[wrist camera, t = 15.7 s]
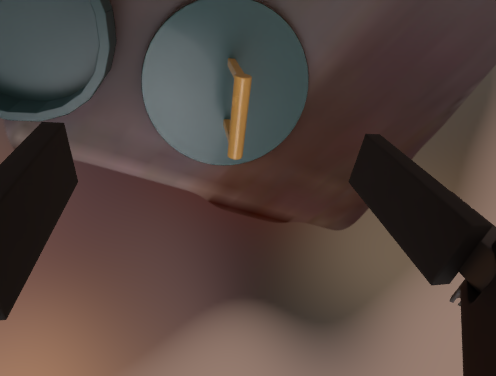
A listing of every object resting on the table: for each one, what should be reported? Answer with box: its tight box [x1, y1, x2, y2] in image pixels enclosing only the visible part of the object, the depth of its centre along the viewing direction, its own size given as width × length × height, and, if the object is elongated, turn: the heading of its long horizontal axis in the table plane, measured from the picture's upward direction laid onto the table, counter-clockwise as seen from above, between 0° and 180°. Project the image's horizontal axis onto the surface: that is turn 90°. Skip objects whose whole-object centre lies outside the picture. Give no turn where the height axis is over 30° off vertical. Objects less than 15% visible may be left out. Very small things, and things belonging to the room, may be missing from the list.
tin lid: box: [141, 0, 308, 165], centre depth 28 cm, size 17×17×8 cm
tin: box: [0, 0, 116, 121], centre depth 23 cm, size 16×16×3 cm
